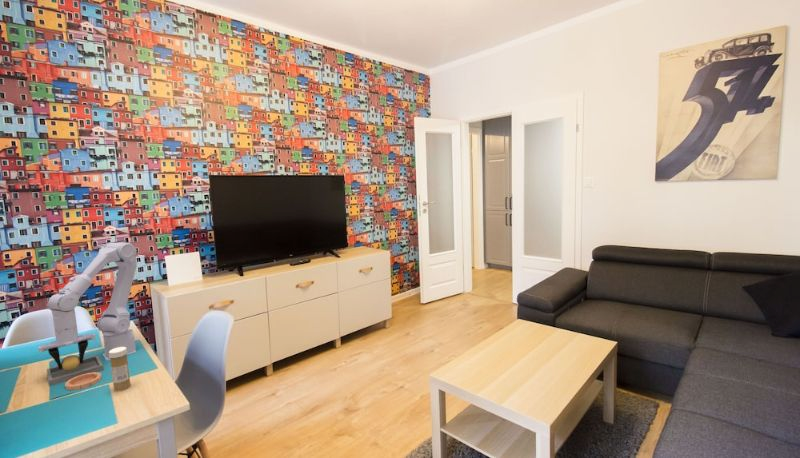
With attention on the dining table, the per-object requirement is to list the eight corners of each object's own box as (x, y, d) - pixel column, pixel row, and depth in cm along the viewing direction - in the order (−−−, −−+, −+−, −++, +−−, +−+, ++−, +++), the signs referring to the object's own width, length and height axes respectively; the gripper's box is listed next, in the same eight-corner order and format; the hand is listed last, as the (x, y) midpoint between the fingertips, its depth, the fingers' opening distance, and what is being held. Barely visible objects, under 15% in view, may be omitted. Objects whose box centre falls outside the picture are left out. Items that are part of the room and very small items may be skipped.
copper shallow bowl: (99, 374, 129) (98, 369, 129) (103, 383, 123) (102, 378, 123) (64, 384, 123) (64, 379, 123) (67, 394, 117) (66, 389, 117)
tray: (98, 361, 140) (97, 355, 139) (103, 371, 131) (103, 365, 131) (47, 375, 130) (46, 369, 129) (49, 387, 121) (49, 380, 121)
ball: (79, 364, 133) (77, 351, 133) (82, 368, 130) (80, 355, 129) (60, 370, 129) (59, 356, 129) (63, 374, 126) (61, 360, 126)
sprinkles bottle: (132, 384, 122) (128, 345, 121) (129, 390, 118) (124, 350, 117) (115, 387, 120) (110, 348, 119) (111, 394, 116) (106, 353, 115)
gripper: (37, 337, 120) (42, 376, 122) (94, 324, 130) (99, 361, 132) (36, 331, 125) (41, 370, 126) (91, 319, 135) (96, 355, 137)
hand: (70, 365), depth 130 cm, fingers closed on ball, 5 cm apart
